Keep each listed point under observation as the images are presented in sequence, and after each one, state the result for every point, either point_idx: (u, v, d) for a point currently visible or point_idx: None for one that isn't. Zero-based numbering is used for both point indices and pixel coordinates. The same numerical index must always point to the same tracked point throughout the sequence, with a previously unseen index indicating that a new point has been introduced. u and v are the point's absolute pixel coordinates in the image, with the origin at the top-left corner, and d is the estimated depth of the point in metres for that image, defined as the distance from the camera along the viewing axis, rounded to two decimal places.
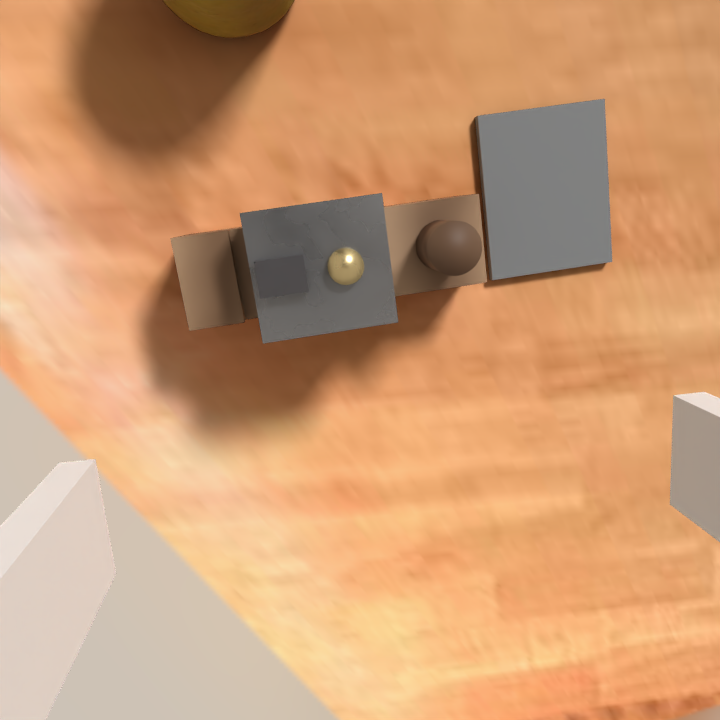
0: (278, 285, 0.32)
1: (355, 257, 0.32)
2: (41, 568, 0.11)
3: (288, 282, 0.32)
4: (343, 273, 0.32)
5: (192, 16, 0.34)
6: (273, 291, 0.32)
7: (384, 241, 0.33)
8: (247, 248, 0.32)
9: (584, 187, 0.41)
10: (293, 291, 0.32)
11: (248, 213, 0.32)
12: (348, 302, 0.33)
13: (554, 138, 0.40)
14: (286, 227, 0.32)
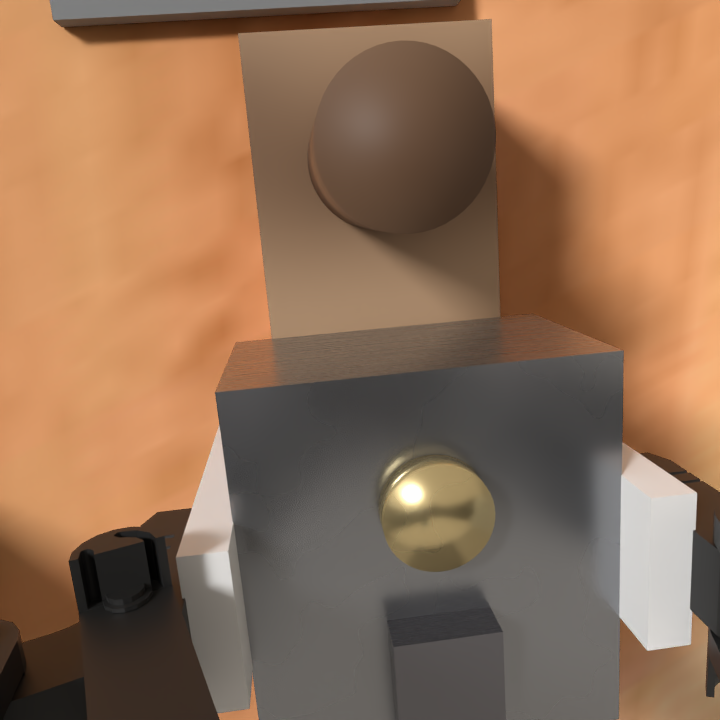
0: (475, 710, 0.11)
1: (414, 492, 0.10)
2: None
3: (470, 685, 0.11)
4: (458, 528, 0.10)
5: None
6: None
7: (368, 388, 0.10)
8: None
9: None
10: (497, 671, 0.11)
11: None
12: (541, 498, 0.11)
13: None
14: (310, 661, 0.11)
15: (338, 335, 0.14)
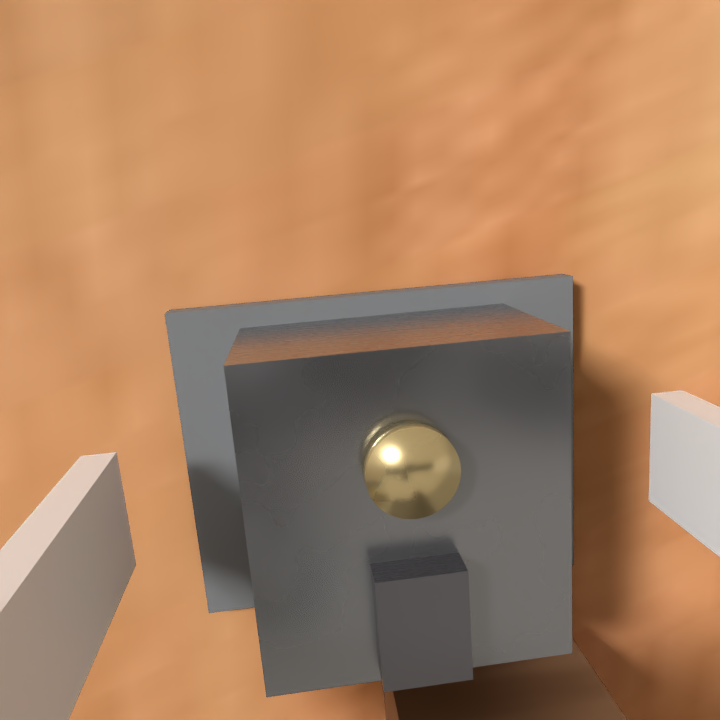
0: (445, 639, 0.13)
1: (391, 450, 0.12)
2: (70, 556, 0.11)
3: (441, 617, 0.13)
4: (429, 482, 0.12)
5: None
6: (458, 651, 0.13)
7: (353, 362, 0.12)
8: (348, 681, 0.13)
9: None
10: (464, 605, 0.13)
11: (267, 679, 0.13)
12: (501, 458, 0.13)
13: None
14: (304, 599, 0.13)
15: (330, 321, 0.15)
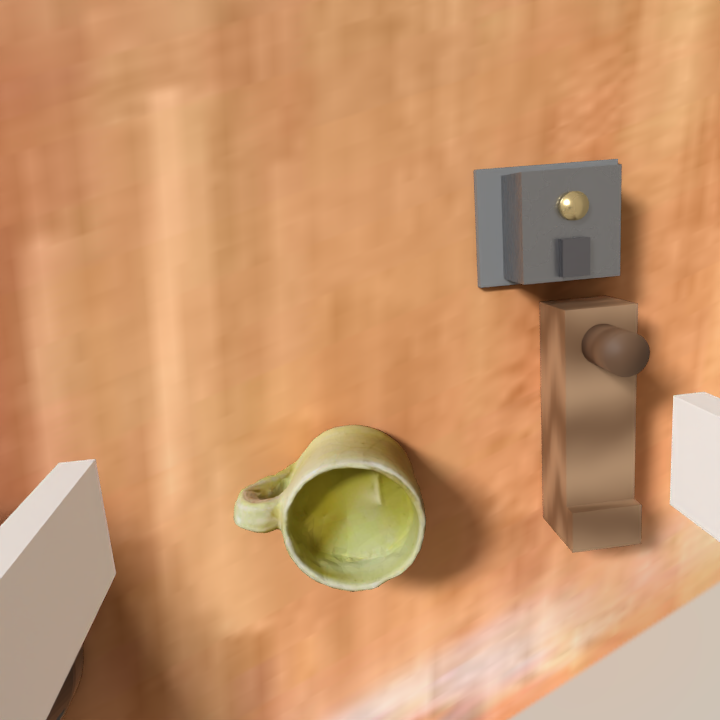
0: (582, 260, 0.41)
1: (569, 197, 0.41)
2: (41, 568, 0.11)
3: (581, 252, 0.41)
4: (579, 208, 0.41)
5: None
6: (586, 264, 0.41)
7: (557, 172, 0.41)
8: (549, 281, 0.42)
9: None
10: (588, 249, 0.41)
11: (524, 278, 0.42)
12: (599, 205, 0.41)
13: None
14: (537, 250, 0.42)
15: None
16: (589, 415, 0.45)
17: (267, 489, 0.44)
